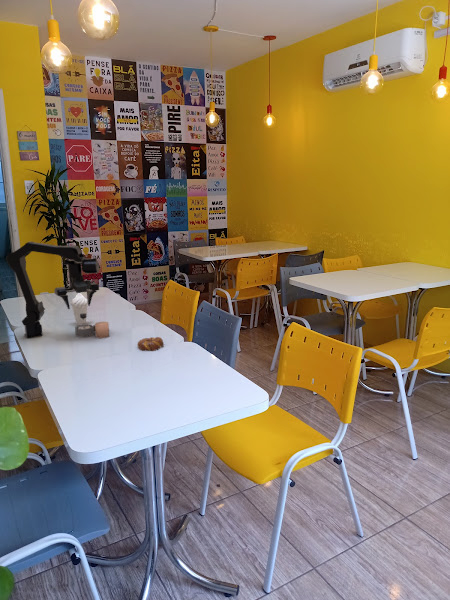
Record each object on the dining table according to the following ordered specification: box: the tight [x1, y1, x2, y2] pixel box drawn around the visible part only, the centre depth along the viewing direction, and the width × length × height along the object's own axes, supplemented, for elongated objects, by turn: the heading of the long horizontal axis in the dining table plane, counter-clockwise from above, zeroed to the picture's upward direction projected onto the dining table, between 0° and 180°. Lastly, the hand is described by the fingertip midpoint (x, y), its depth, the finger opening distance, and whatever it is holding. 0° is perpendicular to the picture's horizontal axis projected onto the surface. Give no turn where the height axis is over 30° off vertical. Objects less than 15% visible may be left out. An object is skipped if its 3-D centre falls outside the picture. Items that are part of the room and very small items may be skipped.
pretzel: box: [137, 336, 164, 351], centre depth 192 cm, size 12×11×4 cm
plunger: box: [78, 313, 91, 329], centre depth 207 cm, size 6×6×7 cm
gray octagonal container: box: [74, 324, 96, 338], centre depth 208 cm, size 10×8×4 cm
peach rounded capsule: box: [94, 321, 110, 339], centre depth 205 cm, size 6×6×6 cm
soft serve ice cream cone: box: [70, 292, 88, 326], centre depth 223 cm, size 8×8×16 cm
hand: (79, 307), depth 205 cm, fingers open, 9 cm apart
